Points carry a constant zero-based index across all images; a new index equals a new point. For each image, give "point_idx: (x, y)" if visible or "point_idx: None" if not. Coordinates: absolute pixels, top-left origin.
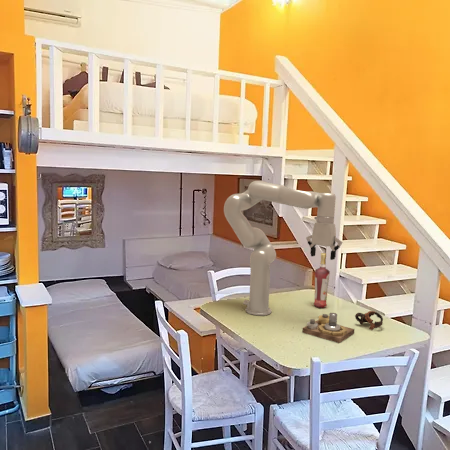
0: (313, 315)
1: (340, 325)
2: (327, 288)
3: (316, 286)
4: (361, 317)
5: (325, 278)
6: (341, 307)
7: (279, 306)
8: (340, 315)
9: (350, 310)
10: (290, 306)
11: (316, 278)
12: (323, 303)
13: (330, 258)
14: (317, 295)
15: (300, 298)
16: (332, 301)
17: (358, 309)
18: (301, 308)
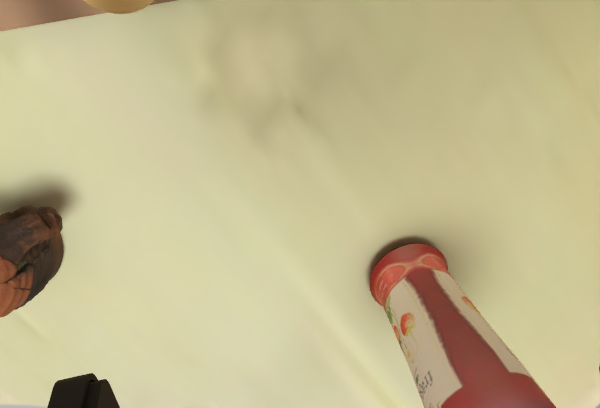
0: (339, 112)
1: (27, 24)
2: (409, 367)
3: (475, 324)
4: (4, 222)
5: (445, 404)
6: (318, 352)
7: (588, 68)
8: (236, 250)
9: (257, 354)
10: (534, 129)
11: (510, 366)
12: (384, 279)
13: (94, 393)
14: (436, 285)
15: (557, 288)
16: (406, 383)
17: (242, 396)
18: (465, 157)
